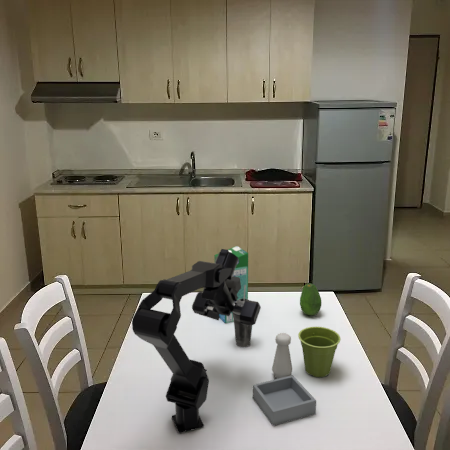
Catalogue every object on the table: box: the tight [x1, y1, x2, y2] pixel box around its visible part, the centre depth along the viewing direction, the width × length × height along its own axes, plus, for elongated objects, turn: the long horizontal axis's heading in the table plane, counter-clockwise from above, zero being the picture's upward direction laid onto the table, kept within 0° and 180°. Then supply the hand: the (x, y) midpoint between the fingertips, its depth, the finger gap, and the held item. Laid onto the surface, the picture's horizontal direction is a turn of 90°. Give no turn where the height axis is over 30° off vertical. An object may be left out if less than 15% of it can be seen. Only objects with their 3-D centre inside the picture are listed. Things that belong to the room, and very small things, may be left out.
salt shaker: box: [271, 332, 293, 379], centre depth 136 cm, size 6×6×13 cm
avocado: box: [299, 283, 322, 316], centre depth 173 cm, size 8×8×12 cm
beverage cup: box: [232, 285, 253, 348], centre depth 153 cm, size 7×7×20 cm
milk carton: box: [213, 245, 249, 324], centre depth 171 cm, size 9×9×25 cm
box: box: [252, 374, 317, 427], centre depth 124 cm, size 12×12×4 cm
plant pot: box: [297, 326, 342, 378], centre depth 138 cm, size 12×12×11 cm
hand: (233, 321), depth 139 cm, fingers open, 9 cm apart
